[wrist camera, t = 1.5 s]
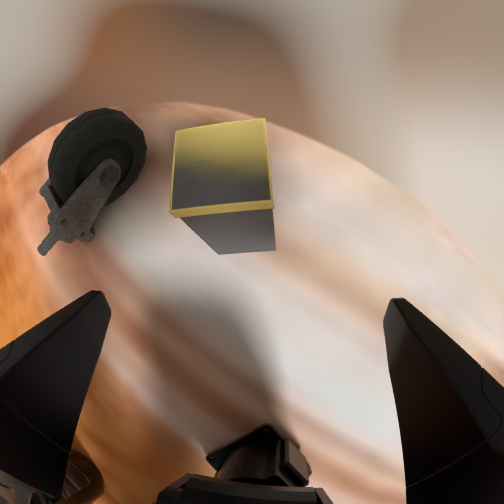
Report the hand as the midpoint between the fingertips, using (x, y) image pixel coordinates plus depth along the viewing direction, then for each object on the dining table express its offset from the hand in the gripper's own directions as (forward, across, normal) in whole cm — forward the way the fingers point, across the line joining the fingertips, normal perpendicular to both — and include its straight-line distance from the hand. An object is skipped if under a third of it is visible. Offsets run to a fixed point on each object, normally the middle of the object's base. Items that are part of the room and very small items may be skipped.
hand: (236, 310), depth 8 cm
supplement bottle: (-5, +20, +24) cm, 32 cm away
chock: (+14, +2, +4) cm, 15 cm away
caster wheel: (+16, +16, +3) cm, 23 cm away
